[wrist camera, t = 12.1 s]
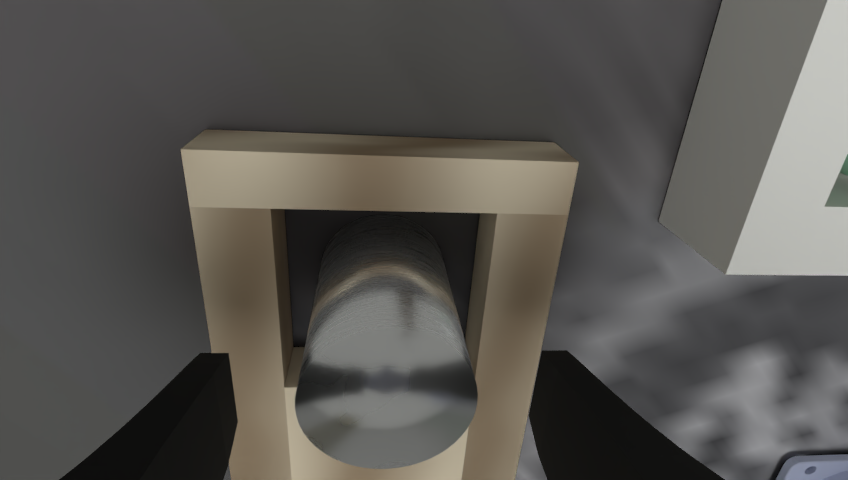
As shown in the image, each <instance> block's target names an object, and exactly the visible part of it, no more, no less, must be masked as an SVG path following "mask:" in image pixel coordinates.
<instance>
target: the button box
mask: <svg viewBox="0 0 848 480" xmlns="http://www.w3.org/2000/svg"><path fill="white" fill-rule="evenodd" d="M847 154H848V0H722V3H721V7H720V10H719V14H718V17H717V21H716V24H715V27H714V31H713V34H712V38H711V41H710V45H709V48H708V52H707V55H706V59H705V62H704V66H703V69H702V72H701V76H700V79H699V83H698V86H697V90H696V93H695V97H694V100H693V104H692V107H691V110H690V114H689V117H688V121H687V124H686V128H685V131H684V135H683V138H682V142H681V145H680V149H679V152H678V155H677V159H676V162H675V166H674V169H673V173H672V176H671V180H670V183H669V187H668V190H667V194H666V197H665V200H664V204H663V207H662V211H661V214H660V218H659V221H658V222H660V223H661V224H662V225H664V226H665V227H666V228H667V229H669V230H670V231H671V232H672V233H674V234H675V235H676V236H677V237H679V238H680V239H681V240H682V241H684V242H685V243H686V244H687V245H689V246H690V247H691V248H693V249H694V250H695V251H696V252H698V253H699V254H700V255H701V256H703V257H704V258H705V259H706V260H708V261H709V262H710V263H711V264H713V265H714V266H715V267H717V268H718V269H719V270H720V271H722V272H723V273H724V274H725V275H835V276H848V176H847V175H844V174H842V173H839V172H840V170H841V168H842V165H843V163H844V161H845V159H846V156H847Z"/></svg>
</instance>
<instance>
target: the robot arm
mask: <svg viewBox="0 0 848 480" xmlns="http://www.w3.org/2000/svg"><path fill="white" fill-rule="evenodd" d="M529 418H530V422H531V427H532V431H533V435H534V439H535V443H536V447H537V451H538V455H539V458H540V461H541V463H542V466H543V469H544V471H545V474H546V477H547V479H548V480H725V479H723V478H722V477H720V476H719V475H717V474H716V473H714V472H713V471H712V470H710V469H709V468H707V467H706V466H704V465H703V464H702V463H700V462H699V461H697V460H696V459H694V458H693V457H692V456H690V455H689V454H687V453H686V452H685V451H683V450H682V449H681V448H679V447H678V446H677V445H675V444H674V443H673V442H672V441H670V440H669V439H668V438H667V437H665V436H664V435H663V434H662V433H660V432H659V431H658V430H657V429H655V428H654V427H653V426H651V425H650V424H649V423H648V422H647V421H645V420H644V419H643V418H642V417H641V416H639V415H638V414H637V413H636V412H635V411H634V410H632V409H631V408H630V407H629V406H628V405H627V404H626V403H624V402H623V401H622V400H621V399H620V398H619V397H618V396H617V395H615V394H614V393H613V392H612V391H611V390H610V389H609V388H608V387H607V386H605V385H604V384H603V383H602V382H601V381H600V380H599V379H598V378H597V377H596V376H594V375H593V374H592V373H591V372H590V371H589V370H588V369H587V368H586V367H585V366H584V365H583V364H581V363H580V362H579V361H578V360H577V359H576V358H575V357H574V356H572V355H571V354H570V353H569V352H568V351H542V353H541V358H540V363H539V368H538V373H537V378H536V382H535V387H534V392H533V397H532V402H531V407H530V412H529ZM237 423H238V419H237V411H236V404H235V396H234V389H233V382H232V374H231V367H230V359H229V353H200V354H199V355H198V356H197V357H195V358H194V359H193V360H192V361H191V362H190V363H189V364H188V365H187V366H186V367H185V368H184V369H183V370H182V371H181V372H180V373H179V374H178V375H177V376H176V377H175V378H174V379H173V380H172V381H171V382H170V383H169V384H168V385H167V386H166V387H165V388H164V389H163V390H162V391H161V392H160V393H158V394H157V395H156V396H155V397H154V398H153V399H152V400H151V401H150V402H149V403H148V404H147V405H146V406H145V407H144V408H143V409H142V410H140V411H139V412H138V413H137V414H136V415H135V416H134V417H133V418H132V419H131V420H130V421H129V422H128V423H126V424H125V425H124V426H123V427H122V428H121V429H120V430H119V431H118V432H116V433H115V434H114V435H113V436H112V437H111V438H109V439H108V440H107V441H106V442H105V443H104V444H102V445H101V446H100V447H99V448H98V449H97V450H95V451H94V452H93V453H92V454H91V455H90V456H88V457H87V458H86V459H85V460H84V461H82V462H81V463H80V464H79V465H77V466H76V467H75V468H74V469H72V470H71V471H70V472H69V473H67V474H66V475H65V476H63V477H62V478H61V479H59V480H223V478H224V475H225V473H226V470H227V467H228V463H229V459H230V455H231V450H232V446H233V442H234V437H235V432H236V428H237ZM776 480H848V454H839V455H811V456H794V457H791V458H789V459H788V460H787V461H786V462H785V463H784V465H783V467H782V468H781V470H780V472H779V474H778V476H777V478H776Z"/></svg>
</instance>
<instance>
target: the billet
mask: <svg viewBox="0 0 848 480" xmlns="http://www.w3.org/2000/svg"><path fill="white" fill-rule="evenodd" d="M477 400H478V392H477V384H476V381H475V377H474V373H473V369H472V366H471V362H470V358H469V354H468V351H467V347H466V343H465V339H464V336H463V332H462V328H461V324H460V321H459V317H458V313H457V309H456V306H455V302H454V298H453V294H452V291H451V287H450V283H449V279H448V276H447V272H446V268H445V264H444V261H443V257H442V254H441V250H440V248H439V246H438V244H437V242H436V241H435V239H434V238H433V237H432V236H431V234H430V233H429V232H428V231H427V230H425V229H424V228H423V227H422V226H420V225H419V224H417V223H415V222H413V221H411V220H409V219H406V218H403V217H400V216H395V215H385V214H384V215H372V216H367V217H363V218H360V219H357V220H355V221H353V222H351V223H349V224H347V225H346V226H344V227H343V228H342V229H340V230H339V231H338V232H337V233H336V234H335V235H334V236H333V237H332V239H331V240H330V241H329V243H328V245H327V247H326V248H325V251H324V254H323V256H322V262H321V267H320V272H319V277H318V282H317V287H316V292H315V298H314V303H313V308H312V313H311V318H310V323H309V329H308V334H307V339H306V344H305V349H304V354H303V360H302V365H301V370H300V375H299V380H298V385H297V391H296V396H295V411H296V417H297V420H298V423H299V425H300V427H301V429H302V431H303V433H304V434H305V435H306V437H307V438H308V439H309V441H310V442H311V443H312V444H313V445H314V446H315V447H317V448H318V449H319V450H321V451H322V452H323V453H325V454H326V455H328V456H330V457H332V458H334V459H336V460H338V461H341V462H343V463H346V464H349V465H353V466H357V467H362V468H371V469H391V468H400V467H406V466H410V465H414V464H417V463H420V462H423V461H426V460H428V459H430V458H432V457H434V456H436V455H438V454H440V453H441V452H443V451H445V450H446V449H448V448H449V447H450V446H451V445H453V444H454V443H455V442H456V441H457V440H458V439H459V438H460V437H461V436H462V435H463V433H464V432H465V431H466V430H467V428H468V426H469V425H470V423H471V421H472V419H473V417H474V414H475V411H476V407H477Z"/></svg>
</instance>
